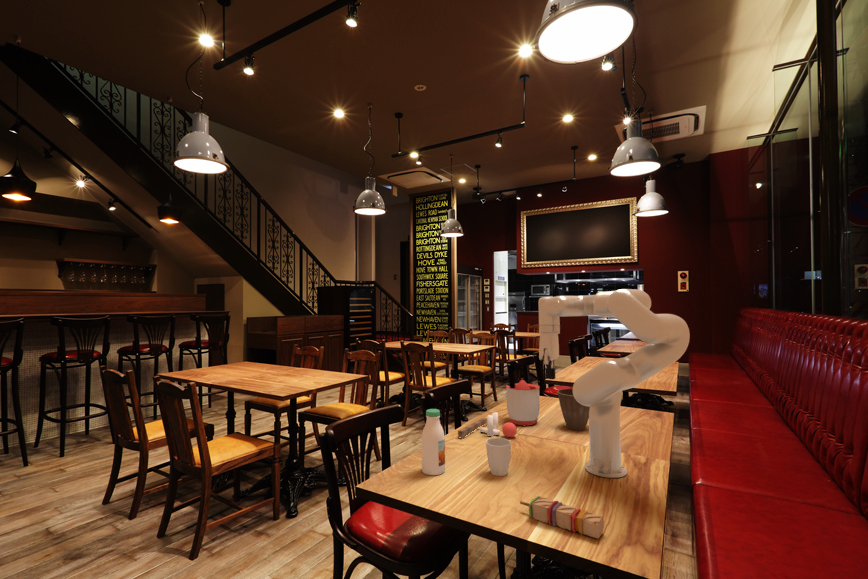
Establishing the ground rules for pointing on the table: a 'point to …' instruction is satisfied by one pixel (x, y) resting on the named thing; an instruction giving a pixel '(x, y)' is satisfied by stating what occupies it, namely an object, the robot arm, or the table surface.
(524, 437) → the table surface
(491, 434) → the pin
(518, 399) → the citrus juicer
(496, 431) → the front pin
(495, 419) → the pin
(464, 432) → the brown textured bar
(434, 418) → the milk bottle
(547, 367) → the robot arm
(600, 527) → the skewer
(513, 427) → the ball
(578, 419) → the plant pot
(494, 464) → the cup
